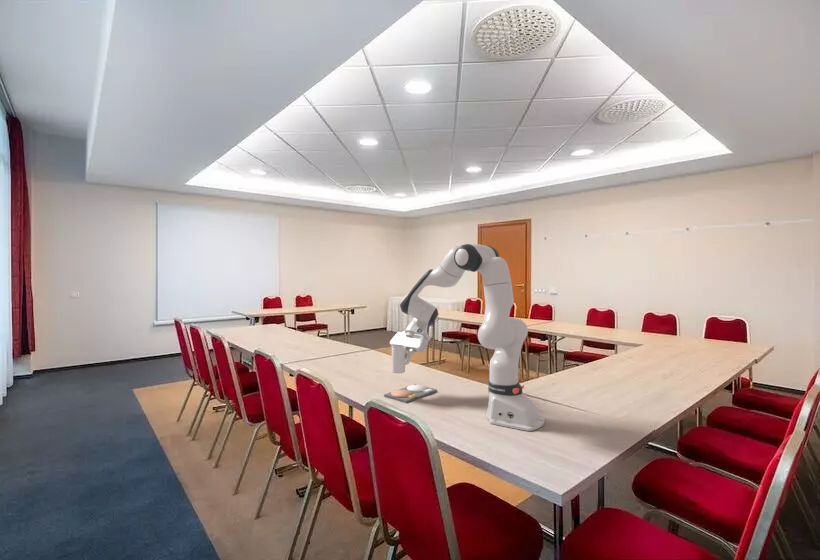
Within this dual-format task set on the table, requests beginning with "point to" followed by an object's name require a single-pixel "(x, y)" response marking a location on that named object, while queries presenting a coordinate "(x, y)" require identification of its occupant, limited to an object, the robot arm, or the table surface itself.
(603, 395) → the table surface
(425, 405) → the table surface
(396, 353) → the mug
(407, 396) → the grey food tray
